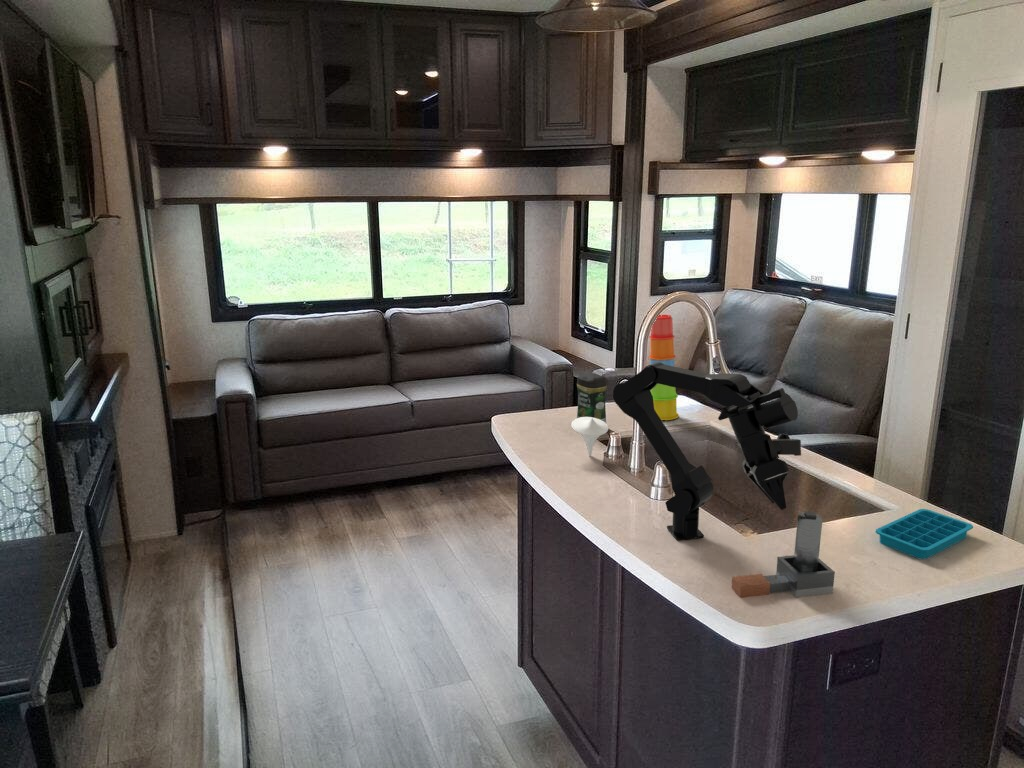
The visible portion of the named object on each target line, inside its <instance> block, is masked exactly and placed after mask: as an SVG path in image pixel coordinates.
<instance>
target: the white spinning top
mask: <svg viewBox="0 0 1024 768" xmlns="http://www.w3.org/2000/svg"><path fill="white" fill-rule="evenodd" d="M570 425H571V428H572V429H573V430H574V431H575V432H576V433H578V434H580V436H581V437H582V438H583V440H584V442H585V446H586V451H587V454H588V456H589V457H592V453H593V450H594V449H593V448H594V446H595V443H596V440H597V439H598V438H600V436H603V435H605V434H606V433H608V431H609V425H608V424H607V422H606V423H605V422H604V421H602V420H600V419H597V418H593V417H580V418H577V417H576V418H575V419H574V420H572V421H571V424H570Z"/></svg>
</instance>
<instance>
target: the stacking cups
mask: <svg viewBox="0 0 1024 768" xmlns="http://www.w3.org/2000/svg"><path fill="white" fill-rule="evenodd" d="M658 315H659V316H658V317H657V319H656V321H655V322H654V324H653V326H652V329H651V328H650V336H649V338H650V355H649V356H648V358H649V365H651V364H654V363H657V362H660V363H663V364H664V365H669V366H674V367H675V358H676V355H675V352H674V351H675V349H674V348H675V347H674V338H675V335H673V334H674V330H673V329H674V328H673V326H674V325H673V317H672V315H670V314H658ZM676 389H677V388H675V387H671V386H667V385H662V384H657V385H656V386H655V387H654V388H653V389H651V390H650V391H651V394H652V396H653V403H654V409H655V411H656V413H657V414H658V416H659V417H660V419H661V420H665V421H671V420H676V419H677V418H679V417H680V415H679V413H678V412H677V409H678V408H677V398H678V396H679V395H678V394H677V392H676Z"/></svg>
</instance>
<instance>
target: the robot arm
mask: <svg viewBox="0 0 1024 768" xmlns="http://www.w3.org/2000/svg"><path fill="white" fill-rule="evenodd" d="M657 384H662V385H667V386H671V387H675V388H676V389H680V390H684V391H689V392H693V393H697V394H700V395H702V396H704V397H706V398H707V400H709V401H710V402H713V403H716V404H718V405H719V406H723V407H722V408H721V411H720V414H719V416H718V418H717V419H718V421H723V420H726V419H728V420H729V423H730V425H731V429H732V430H733V434H734V435H735V437H736V440H737V446H738V448H740V450H741V453H742V455H743V457H744V459H743V461H742V463H741V466H742V467H741V468H742V470H743V472H744V473H745V474H746V477H748V478H749V479H750V481H751V482H753V484H754V485H755V486H756V487H757V488H758V490H760V491H761V493H763V494H764V496H765V497H766V498H767V499H768V500H769V501H770V502H771V503H772V504H775V505H776V506H777V507H778V508H779V509H780V511H781V510H786V508H787V502H786V497H785V496H786V495H785V490H784V480H785V479H786V477H787V476H788V474H789V468H788V466H787V463H786V461H785V460H782V459H780V457H779V456H783V455H784V456H787V455H788V456H789V455H790V456H792V455H793V456H795V457H796V456H797V457H798V456H802V440H801V439H798V438H790V435H789V434H788V433H779V434H778V435H777V438H771V435H770V434H768V433H766V431H765V429H764V427H765V428H767V429H771V428H773V427H774V428H775V427H777V426H781V425H784V424H785V425H786V424H789V423H791V422H795V421H796V420H797V419H798V415H799V414H798V413H799V411H798V407H797V403H796V401H795V400H793V398H792V397H791V395H790V394H788V393H786V391H785V389H784V388H783V387H781V388H778V389H776V390H774V391H772V392H769V393H765V392H764V391H763V390H761V389H759V388H758V387H756V386H755V385H753V384H752V383H750V381H749V379H748V377H747V376H746V375H744V374H741V373H728V372H727V373H725V372H724V373H705V372H701V371H696V370H691V369H687V368H683V367H678V366H675V365H674V366H669V365H664V364H663V363H660V362H657V363H654V364H651V365H650V364H649V365H646V366H645V367H644V368H643V369H642V370H641V371H640V372H637V373H636V374H634V375H633V376H632V377H631V378H628V379H627V380H625V381H621V382H619V383H618V384H616V385H615V386H614V388H613V391H612V395H611V396H612V399H613V401H614V404H616V406H617V407H618V408H619V409H620V410H621V412H622V413H623V414H625V415H627V416H628V417H630V418H631V419H633V420H634V421H635V422H636V424H638V426H639V428H640V429H641V431H642V433H643V434H644V435H645V438H646V439H647V440H648V442H649V443H650V444H651V445H650V446H651V447H652V449H654V451H655V453H656V455H657V456H658V458H659V459H660V460H661V462H662V464H663V465H664V467H665V469H666V470H667V472H668V473H669V475H670V481H671V489H672V491H673V494H674V495H672V497H670V498H669V499H668V500H666V501H665V506H666V510H667V511H668V512H670V513H672V525H671V524H670V525H667V526H666V529H667V530H668V532H669V533H670V534H671V535H672V536H673V537H674V538H675V540H677V541H680V540H683V541H684V540H692V539H693V540H694V539H702V538H704V537H705V535H704V533H702V531H701V530H700V529H699V520H700V507H702V506H704V505H705V504H706V503H707V502H706V501H709V500H710V499H711V498H712V497H713V494H714V485H713V482H712V481H713V478H712V477H710V475H709V474H708V473H707V471H706V469H705V466H703V465H702V464H701V465H698V466H696V465H695V466H694V464H692V463H690V462H689V460H688V459H687V457H686V456H685V454H684V453H683V451H682V450H681V448H680V446H679V445H678V444H677V442H676V440H675V439H674V437H673V436H672V434H671V433H670V431H669V430H668V428H667V427H666V425H665V424H664V422H663V421H662V420H661V419H660V417H659V416H658V414H657V413H656V411H655V409H654V403H653V396H652V394H651V391H650V390H651V389H653V388H654V387H655V386H656V385H657ZM732 406H733V407H732Z"/></svg>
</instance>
